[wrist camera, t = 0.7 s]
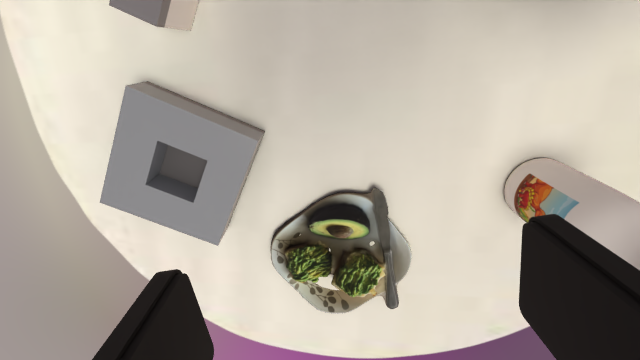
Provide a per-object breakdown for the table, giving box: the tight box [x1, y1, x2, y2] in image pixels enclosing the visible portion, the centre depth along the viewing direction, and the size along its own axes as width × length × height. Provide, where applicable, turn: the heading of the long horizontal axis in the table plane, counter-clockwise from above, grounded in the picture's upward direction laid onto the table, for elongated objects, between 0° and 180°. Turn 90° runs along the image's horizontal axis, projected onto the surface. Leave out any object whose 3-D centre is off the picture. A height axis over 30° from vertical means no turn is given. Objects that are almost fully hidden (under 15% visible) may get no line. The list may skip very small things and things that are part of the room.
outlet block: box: [100, 81, 265, 246], centre depth 39 cm, size 14×14×4 cm
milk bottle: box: [504, 158, 640, 270], centre depth 33 cm, size 8×8×20 cm
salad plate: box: [271, 188, 412, 313], centre depth 44 cm, size 19×18×5 cm
